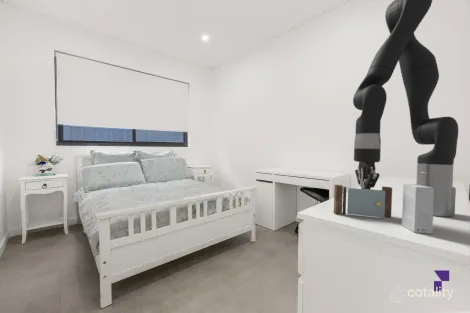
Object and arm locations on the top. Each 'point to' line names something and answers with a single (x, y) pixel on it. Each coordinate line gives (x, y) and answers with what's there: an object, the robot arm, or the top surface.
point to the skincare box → (418, 208)
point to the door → (366, 202)
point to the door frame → (341, 193)
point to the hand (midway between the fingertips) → (365, 198)
